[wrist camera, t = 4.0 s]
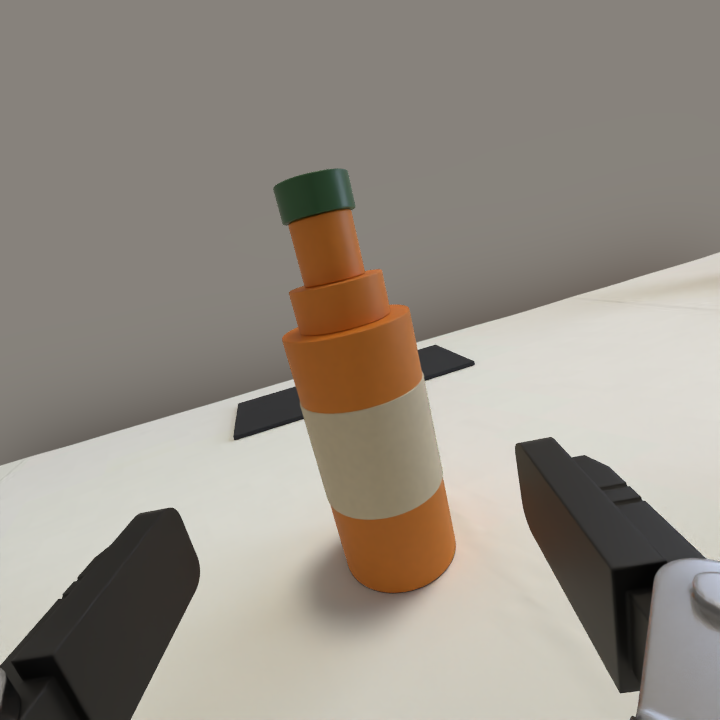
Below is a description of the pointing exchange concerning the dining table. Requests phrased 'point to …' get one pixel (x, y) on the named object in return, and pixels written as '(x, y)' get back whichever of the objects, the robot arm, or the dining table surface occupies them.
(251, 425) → the front mat
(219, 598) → the dining table surface
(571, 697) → the dining table surface
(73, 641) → the robot arm
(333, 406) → the juice bottle
